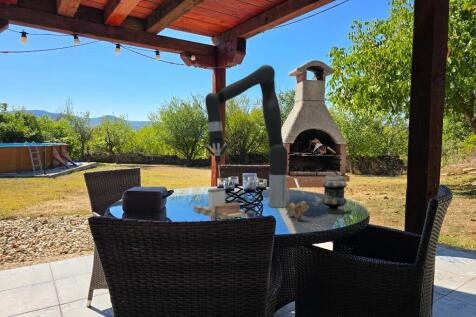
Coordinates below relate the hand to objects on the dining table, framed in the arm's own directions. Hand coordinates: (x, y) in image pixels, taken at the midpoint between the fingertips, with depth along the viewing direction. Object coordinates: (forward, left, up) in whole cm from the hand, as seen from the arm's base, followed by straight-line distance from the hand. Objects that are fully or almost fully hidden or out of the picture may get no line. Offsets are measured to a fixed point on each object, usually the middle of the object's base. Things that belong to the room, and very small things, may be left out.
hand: (218, 162), depth 183 cm
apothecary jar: (-60, +7, -23) cm, 65 cm away
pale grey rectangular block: (-3, +20, -21) cm, 29 cm away
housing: (-4, +20, -23) cm, 31 cm away
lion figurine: (-41, +25, -24) cm, 54 cm away
